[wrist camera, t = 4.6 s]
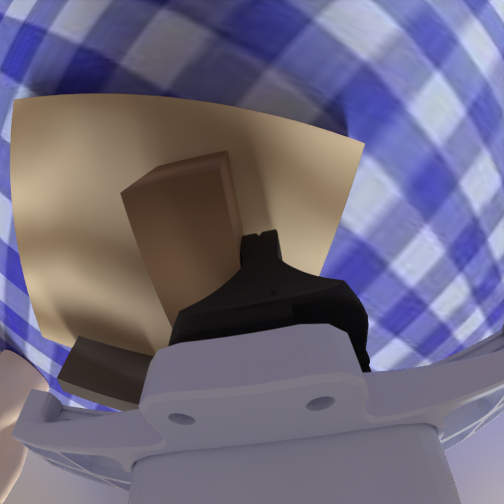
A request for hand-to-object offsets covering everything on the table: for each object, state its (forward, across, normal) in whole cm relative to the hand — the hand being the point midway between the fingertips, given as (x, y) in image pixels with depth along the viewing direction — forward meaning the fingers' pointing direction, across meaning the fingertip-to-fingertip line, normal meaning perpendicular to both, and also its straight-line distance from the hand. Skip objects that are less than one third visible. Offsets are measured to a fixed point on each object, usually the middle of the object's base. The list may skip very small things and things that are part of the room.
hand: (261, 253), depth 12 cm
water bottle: (+3, +31, +11) cm, 33 cm away
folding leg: (+1, +2, +2) cm, 3 cm away
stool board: (+3, +6, 0) cm, 7 cm away
